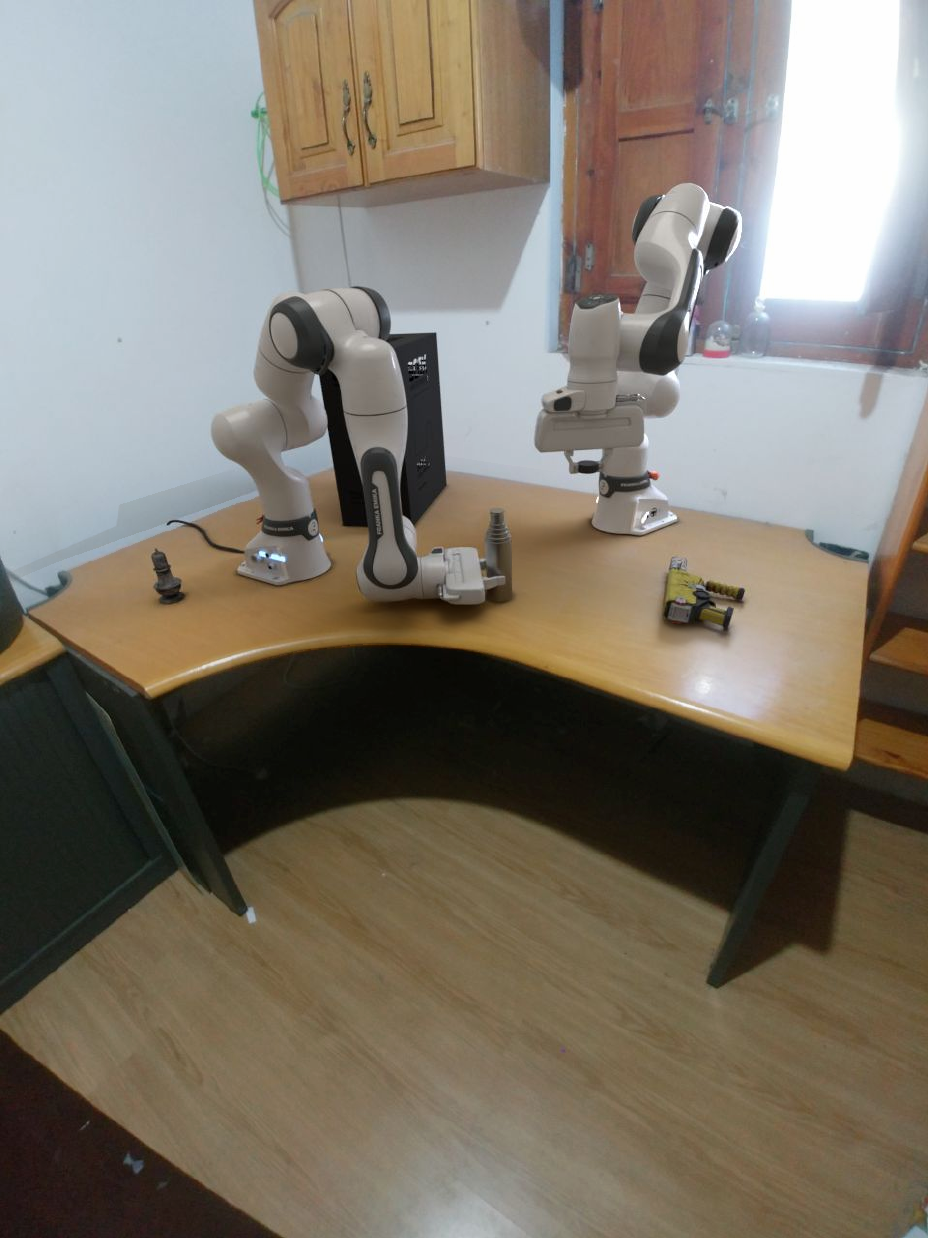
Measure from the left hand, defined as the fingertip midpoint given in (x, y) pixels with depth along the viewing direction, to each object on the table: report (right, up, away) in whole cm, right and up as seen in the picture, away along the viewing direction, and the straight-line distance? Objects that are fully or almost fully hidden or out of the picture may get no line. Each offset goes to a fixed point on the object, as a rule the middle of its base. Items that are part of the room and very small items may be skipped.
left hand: (503, 572), depth 125 cm
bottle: (-1, -5, +3) cm, 6 cm away
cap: (+15, +20, -10) cm, 27 cm away
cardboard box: (-28, +25, +57) cm, 69 cm away
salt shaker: (-73, -5, +10) cm, 74 cm away
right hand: (+16, +19, -9) cm, 26 cm away
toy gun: (+40, -6, -4) cm, 41 cm away
